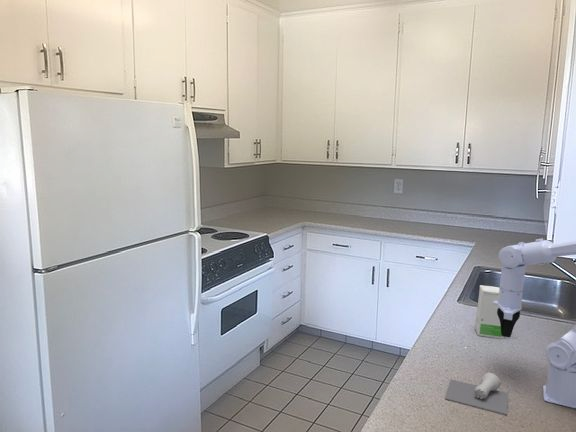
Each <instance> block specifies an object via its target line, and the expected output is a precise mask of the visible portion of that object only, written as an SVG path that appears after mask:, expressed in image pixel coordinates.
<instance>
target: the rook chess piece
mask: <svg viewBox="0 0 576 432" xmlns="http://www.w3.org/2000/svg"><path fill="white" fill-rule="evenodd" d="M500 387H501V380H500V378H499V377H498V376H497V375H496V374H494V373H492V372H486V373H484V374H483V376H482V377H481V384H479V385H477V387H475V391H474V392H475V393H474V394H475V395H477V398H480V399H485V398H487V396H488V394H489V392H490V391H495V390H498V389H500Z"/></svg>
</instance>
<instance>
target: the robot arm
mask: <svg viewBox="0 0 576 432" xmlns="http://www.w3.org/2000/svg"><path fill="white" fill-rule="evenodd" d="M534 240H535V241H533V242H526V243H525V242H524V241H520V242H518V243H517V244H513V245H512V244H511V245H507V246H505V247H502V248H501V249H500V250H499V252H498V261H499V262H500V264H501V270H500V271H501V273H500V281H499V298H498V301H493V305H497V306H498V307H499V308H498V310H497V315H498V317H499V320H500V325H501V335H502V336H504V337H505V338H511V337H512V333H513V330H514V327H515V325H516V323H517V322H518V320H520V317H521V310H522V308H523V306H522V303H523V302H522V299H523V292H524V291H523V290H524V283H525V273H526V269H527V266H533V265H534V266H535V265H541V264H551V263H553V262H555V261H556V259H557V258H558V257H565V256H575V255H576V240H572V241H566V242H559V243H554V242H552V241H551V240H548V239H544V238H543V237H542V238H538V239H534ZM504 337H503V338H504ZM545 356H546V359H547V361H548V369H547V378H546V384H545V385H543V386H542V389H543V390H542V393H543V400H544V401H545V402H547V403H552V404H555V405H560V406H564V407H568V408H572V409H576V324H575V325H574V326H573V327H572V328H571V329H570V330H568V332H566V333H565V334H564V335H563V336H561V337H560V338H559V339H558V340H557V341H554V342H551V343H549V344H548V345H547V346H546V349H545Z"/></svg>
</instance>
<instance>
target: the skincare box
mask: <svg viewBox="0 0 576 432" xmlns="http://www.w3.org/2000/svg"><path fill="white" fill-rule="evenodd" d="M499 288H500V286H499V287H497V286H492V285H481V284H480V285H479V290H478V291H479V292H478V301H477V302H478V303H477V308H476V314H475V315H476V317H475V325H474V330H475V332H476V335H477V336H480V337H487V338H495V339H500V340H501V339H502V340H503V339H504V336H502V335H501V325H500V320H499V317H498V315H497V310H498V308H499V307H498V306H497V305H493V301H498V298H499Z"/></svg>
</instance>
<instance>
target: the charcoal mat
mask: <svg viewBox="0 0 576 432" xmlns="http://www.w3.org/2000/svg"><path fill="white" fill-rule="evenodd" d="M477 386H478V385H476V384H472V383H468V382H463V381H461V380H456V379H450V381H449V383H448V387H447V391H446V393H445V396H444V400H445V401H450V402H454V403H458V404H462V405H465V406H468V407H472V408H477V409H481V410H484V411H489V412H492V413H496V414H500V415H504V416H508V406H509V405H508V404H509V392H506V391H501V390H498V389H497V390H495V391H490V392H489V394H488V396H487V398H485V399H480V398H477V395H475V394H474V393H475V392H474V391H475V387H477Z"/></svg>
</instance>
